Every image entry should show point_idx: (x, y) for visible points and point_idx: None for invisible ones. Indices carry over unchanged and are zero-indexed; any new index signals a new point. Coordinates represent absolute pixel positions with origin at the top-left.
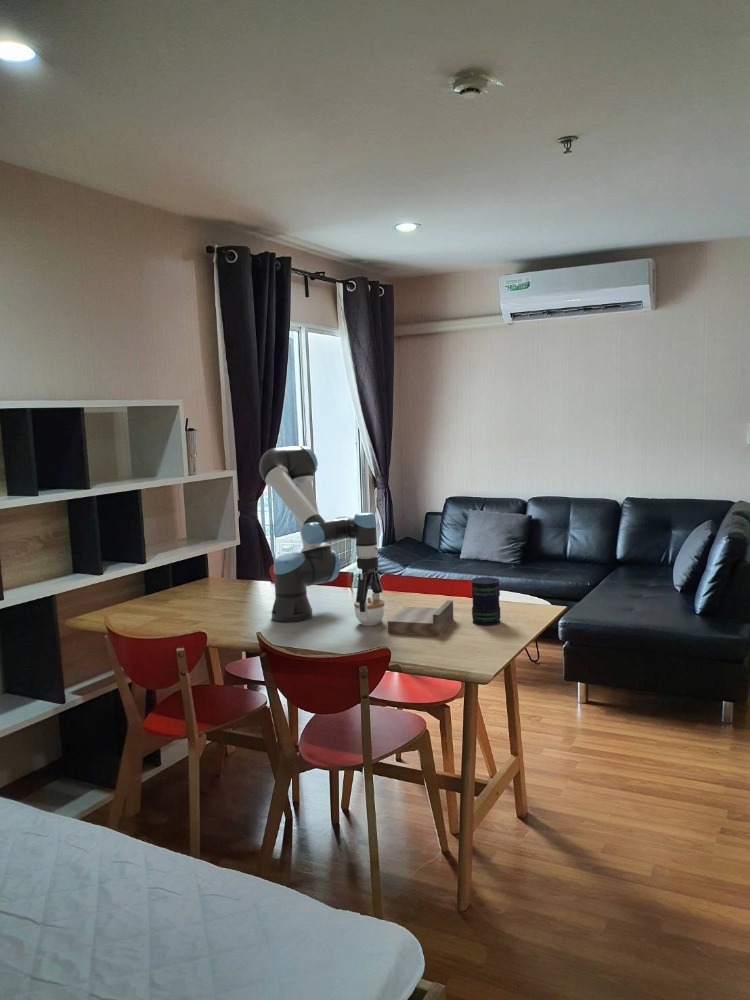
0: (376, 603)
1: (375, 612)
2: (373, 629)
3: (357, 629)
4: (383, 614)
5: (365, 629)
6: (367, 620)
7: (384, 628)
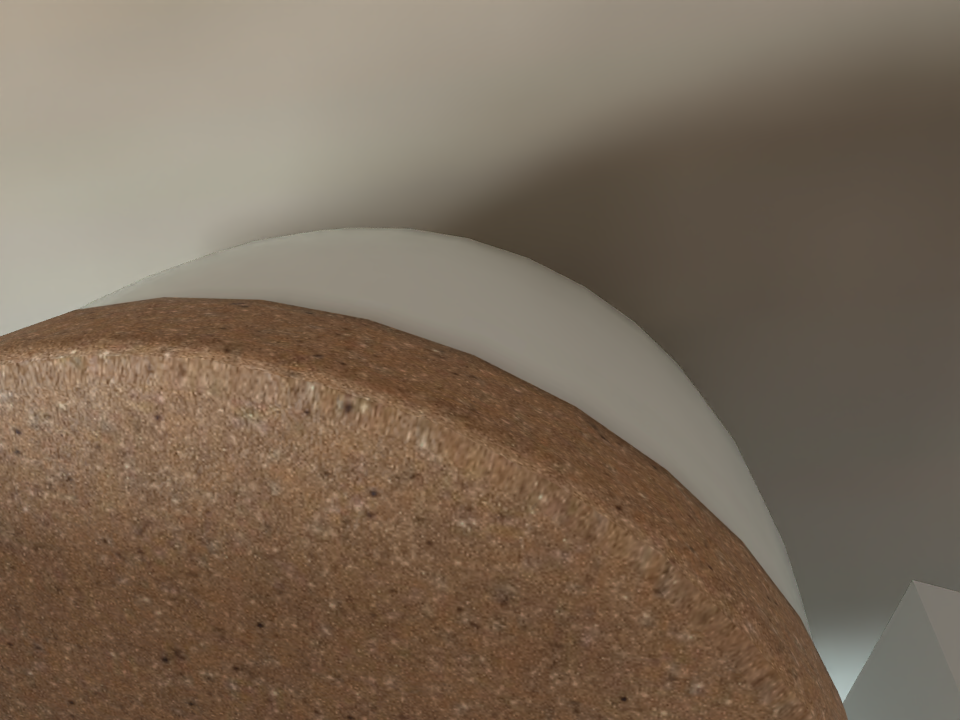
0: (508, 683)
1: (761, 508)
2: (936, 354)
3: (866, 633)
4: (392, 229)
5: (898, 506)
6: (958, 596)
7: (897, 101)
